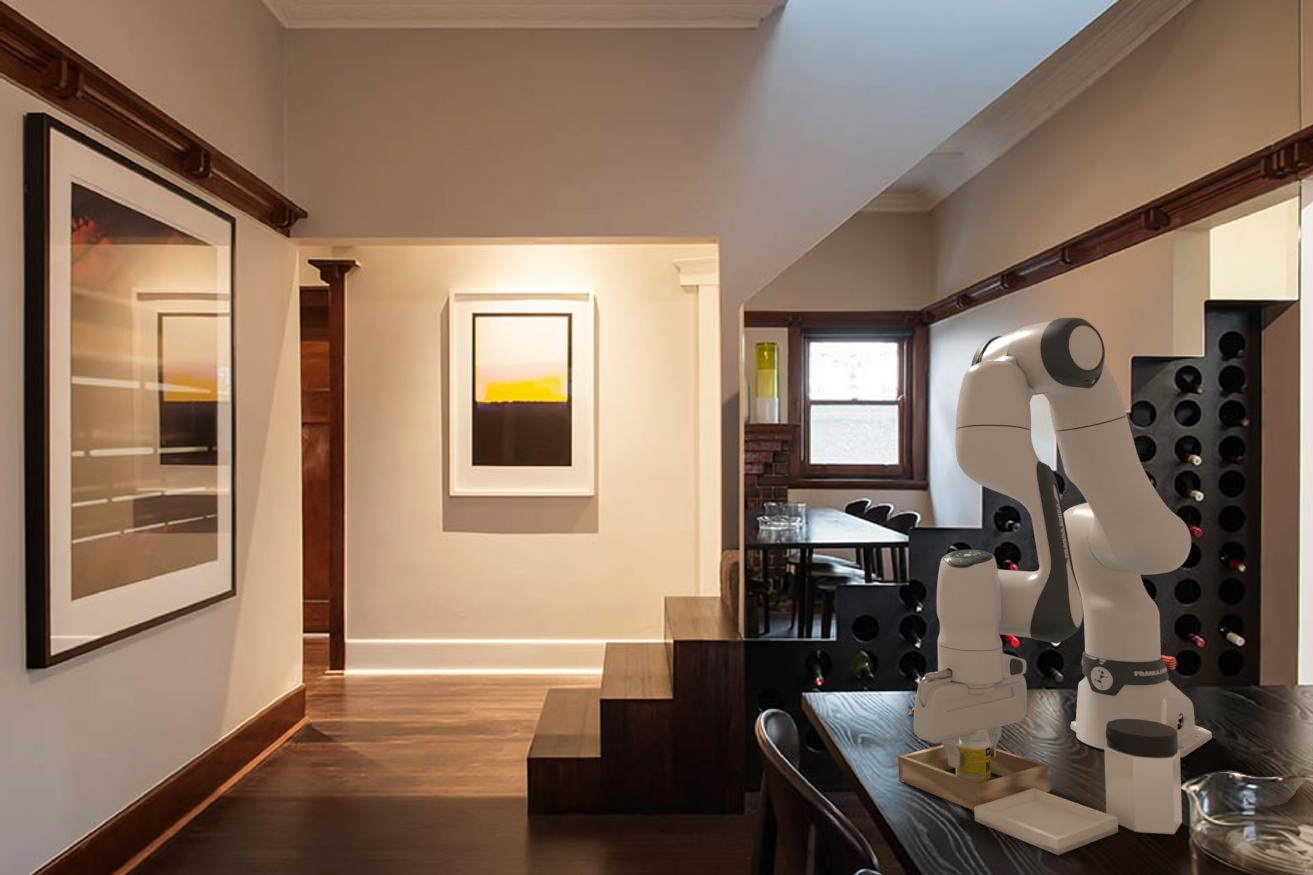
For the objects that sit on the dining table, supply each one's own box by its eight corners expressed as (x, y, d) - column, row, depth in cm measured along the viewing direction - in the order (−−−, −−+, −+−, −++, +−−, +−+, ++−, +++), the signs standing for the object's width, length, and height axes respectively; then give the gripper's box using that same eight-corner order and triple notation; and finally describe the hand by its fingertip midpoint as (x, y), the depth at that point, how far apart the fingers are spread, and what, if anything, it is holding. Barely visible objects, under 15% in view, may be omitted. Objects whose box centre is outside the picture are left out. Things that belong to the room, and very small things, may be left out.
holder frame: (966, 761, 139) (966, 738, 139) (1050, 790, 126) (1050, 765, 126) (898, 780, 131) (898, 756, 132) (981, 813, 119) (980, 786, 119)
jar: (1117, 803, 122) (1115, 713, 122) (1186, 818, 116) (1183, 724, 117) (1099, 824, 115) (1097, 729, 115) (1172, 841, 109) (1169, 741, 110)
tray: (1034, 801, 123) (1033, 787, 123) (1118, 831, 112) (1117, 817, 112) (974, 820, 116) (974, 806, 117) (1057, 854, 106) (1057, 839, 106)
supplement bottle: (993, 792, 126) (992, 732, 126) (958, 790, 127) (956, 730, 127) (988, 780, 131) (986, 722, 131) (954, 778, 132) (952, 720, 132)
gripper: (936, 679, 121) (939, 782, 121) (1034, 659, 132) (1036, 754, 132) (901, 670, 127) (903, 769, 126) (998, 652, 137) (1000, 743, 137)
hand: (972, 761), depth 129 cm, fingers open, 5 cm apart
